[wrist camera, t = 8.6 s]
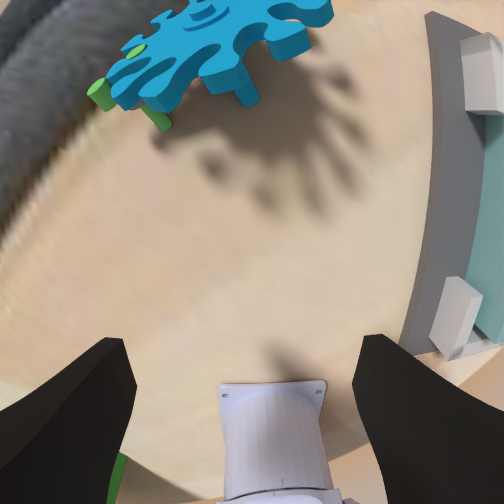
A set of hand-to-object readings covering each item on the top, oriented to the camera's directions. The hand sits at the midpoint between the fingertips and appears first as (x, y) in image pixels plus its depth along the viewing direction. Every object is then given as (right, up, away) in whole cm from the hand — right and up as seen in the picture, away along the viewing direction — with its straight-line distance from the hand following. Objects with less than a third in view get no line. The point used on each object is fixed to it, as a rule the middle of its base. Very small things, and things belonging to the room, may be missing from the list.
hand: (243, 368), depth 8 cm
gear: (-2, +14, +5) cm, 15 cm away
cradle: (+17, +7, +8) cm, 20 cm away
